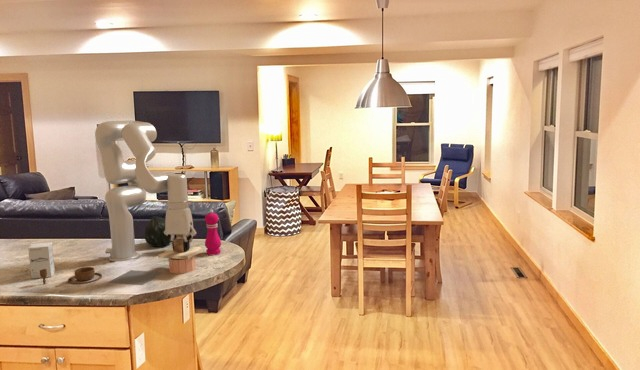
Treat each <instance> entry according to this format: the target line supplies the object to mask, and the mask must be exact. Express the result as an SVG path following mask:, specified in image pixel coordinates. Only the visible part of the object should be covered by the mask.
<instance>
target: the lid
mask: <svg viewBox="0 0 640 370" xmlns="http://www.w3.org/2000/svg"><path fill="white" fill-rule="evenodd" d="M183 242H185V241H184V237H178V238H176V239H174V240H173V243H174V251H173V247H170V248H168V249H166V250H165V251H162V252H160V253H159V254H157V258H159V259H161V258H162V259H169V258H174V259H190V258H191V257H193V256H195V257H196V256H197V255H198V254H200V253H201V252H203V251H204V246H203V247H201V246H192V247H190V248H189V250H188V251H186V252H184V244H183Z"/></svg>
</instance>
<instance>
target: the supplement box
mask: <svg viewBox="0 0 640 370" xmlns="http://www.w3.org/2000/svg"><path fill="white" fill-rule="evenodd" d="M53 244H54V243H53V242H52V241H51V242H39V243H38V242H36V243H32V244H30V245H29V246H28V247H27V248H28V249H27V250H28V259H29V268H30V278H31V279H32V280H33V279H39V278H40V279H41V278H42V277H41V276H40V270H42V269H47V276H46V277H45V278H51V277H53V275H54V274H55V271H56V269H55V258H54V257H55V255H54V248H53V247H54V246H53ZM42 279H43V278H42Z"/></svg>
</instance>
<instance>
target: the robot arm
mask: <svg viewBox="0 0 640 370" xmlns="http://www.w3.org/2000/svg"><path fill="white" fill-rule="evenodd" d="M157 135H158V133H157V130H156V127H155V126H154V125H153V124H151V123H150V122H146V121H145V122H144V121H139V120H109V121H107V120H106V121H103V122H100V123H99V124H98V125H97V126H96V128H95V130H94V138H95V142H96V143H95V144H96V146H97V148H98V149H99V152H100V156H101V162H102V169H103V173H104V177H105V180H106V182H107V184H110V185H119V184H120V185H121V184H128V185H123V186H116V187H113V188H110V189H109V190H107V192H106V193H105V195H104V196H105V197H104V201H105V204H106V208H107V211H108V218H109V228H110V242H111V247H107V248H106V250H105V254H109V255H110V256H109V257H108V261H110V262H113V263H116V262H126V261H131V260H137V259H139V257H140V253H139V252H136V243H135V241H136V239H135V230H134V218H133V215H132V214H131V212H130V211H129V210H128V208H133V207H138V206H141V205H143V204H144V203H145V201H146V200H147V193H148V194H159V193H163V192H167V202H166V201H165V206H167V208H166V211H165V212H166V213H165V219H166V220H165V231H164V234H165V235H167V236H168V237H169V238H170V239H171V241H172V242H171V244H172V245H171V246H172V247H173V251H174V243H173V240H174V239H176V238H177V235H183V237H184V241H185V242H183V244H184V252H186V251H188V250H189V248H190V245H189V240H190V239H191V238H192V237H194V236H197V234H198V233H197V231H196V229H195V228H194V219H193V220H192V218H193V215H192V211H191V208H190V207H189V196H188V180H187V179H188V178H187V175H186V174H184V173H174V172H171V171H170V172H169V171H168V172H167V171H165V172H159V173H151V172H150V170H149V169H148V167H147V163H148V162H150V161H151V160H152V159H153V158H155V156H156V153H157V150H156V148H155V147H154V145H153V143H152V142H154V141H155V140H156V139H157ZM119 141H124V142H125V143H126V145H127V147H128V148H129V150H130V151H131V153H132V155H133V156H134V158H135V160H136V161H135V160H125V159H124V156H123V151H122V149H121V147H120V146H119V145H118V144H117V143H116V142H119ZM190 232H191V234H190V235H189V233H190ZM172 247H171V248H172Z"/></svg>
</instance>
